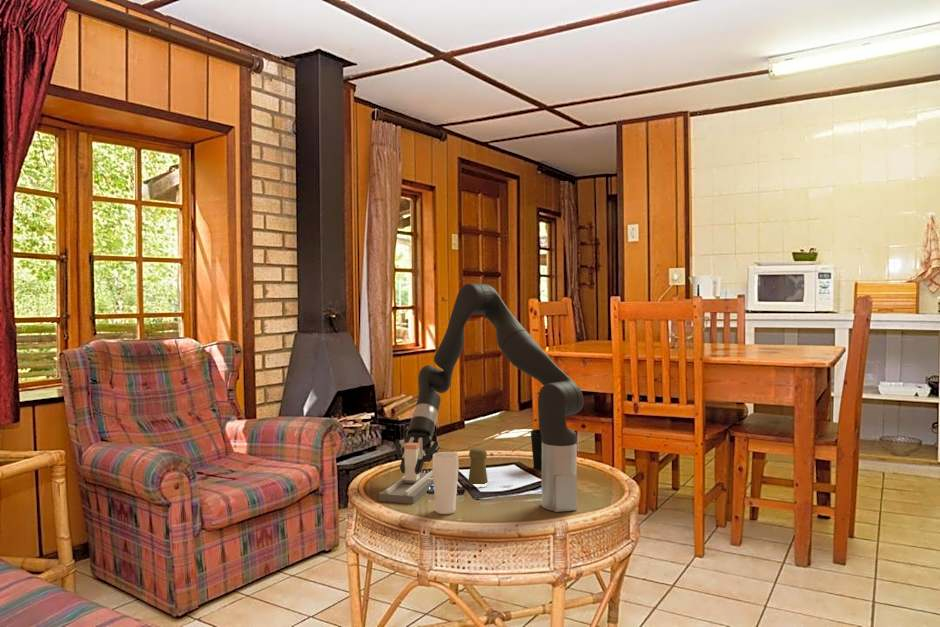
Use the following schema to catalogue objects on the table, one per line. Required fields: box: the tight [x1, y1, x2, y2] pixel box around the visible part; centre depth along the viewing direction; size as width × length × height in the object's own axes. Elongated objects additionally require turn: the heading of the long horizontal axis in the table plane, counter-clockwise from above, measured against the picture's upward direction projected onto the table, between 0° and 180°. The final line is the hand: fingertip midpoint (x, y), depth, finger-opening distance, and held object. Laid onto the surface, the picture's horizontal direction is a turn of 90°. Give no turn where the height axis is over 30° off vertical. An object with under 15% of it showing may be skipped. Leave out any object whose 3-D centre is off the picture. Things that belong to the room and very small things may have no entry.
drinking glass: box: [431, 451, 459, 515], centre depth 184 cm, size 7×7×15 cm
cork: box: [467, 447, 489, 484], centre depth 209 cm, size 6×6×11 cm
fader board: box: [378, 470, 433, 505], centre depth 204 cm, size 24×10×3 cm, turn 165°
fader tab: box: [403, 442, 421, 483], centre depth 204 cm, size 4×4×11 cm
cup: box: [530, 428, 542, 472], centre depth 228 cm, size 8×8×12 cm
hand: (409, 472), depth 202 cm, fingers closed on fader tab, 3 cm apart
